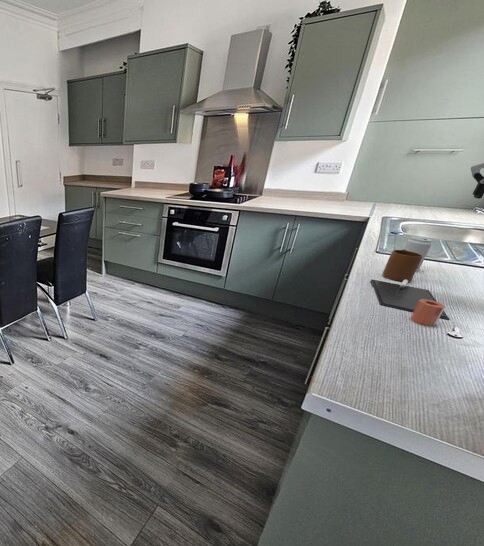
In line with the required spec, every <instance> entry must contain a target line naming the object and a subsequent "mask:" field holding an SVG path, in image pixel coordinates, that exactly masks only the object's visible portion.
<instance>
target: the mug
mask: <svg viewBox="0 0 484 546" xmlns="http://www.w3.org/2000/svg"><path fill="white" fill-rule="evenodd" d="M421 259H422V255H421V254H418V253H415V252H411V251H407V250H405V249H404V248H402V249H394V250H392V252H391V253H390V254H389V258H388V260H387V262H386V264H385V265H384V269H383V271H382V276H384V278H387V279H389V280H392V281H396V282H403V280H405V279H406V280H408V282H411V281H412V280H413V278H414V276H415V274H416V272H417V271H418V270H417V268H418V266H419V264H420V262H421Z"/></svg>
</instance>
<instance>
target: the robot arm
mask: <svg viewBox="0 0 484 546" xmlns="http://www.w3.org/2000/svg"><path fill="white" fill-rule="evenodd" d="M483 169H484V162H482V163H479V164H475V165H472V166H470V172H471V176H472V178H473V179H474V180H475V181H476V183H477V184H476V185H475V188H474V190H473V191H472V195H473V198H475V199H478V200H481V199H482V198H483V196H484V175H482V174H481V170H483Z"/></svg>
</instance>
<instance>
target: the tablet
mask: <svg viewBox="0 0 484 546" xmlns="http://www.w3.org/2000/svg"><path fill="white" fill-rule="evenodd" d="M370 284H371V287H372V288H373V290H374V294H375V295H376V299H377V302H378V304H379V306H381V307H386V308H390V309H394V310H395V309H396V310H399V311H403V312H404V311H405V312H409V313H413V311H414V309H415V307H416V305H417V303H418V301H419V300H420V299H427V300H432V301H436V302H438V301H437V300H436V298H435V297H434V295H433V294H432V292H431V291H430V290H429V289H425V288H419V287H415V286H409V285H406V286H405V287H404V288H401V287H400V285H401V284H399V283H393V282H388V281H383V280H377V279H372V278H371V279H370ZM439 319H441V320H446V321H450V319H451V318H450V317H449V316H448V314H447V313H446V312H445V309H444V310H443V312H442V314H441V316H440V317H439Z"/></svg>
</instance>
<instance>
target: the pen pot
mask: <svg viewBox="0 0 484 546" xmlns="http://www.w3.org/2000/svg"><path fill="white" fill-rule="evenodd" d="M436 301H437V300H436ZM436 301H432V300H427V299H420V300H419V301H418V303H417V305H416V307H415V309H414V311H413V312H411V315H410V317H409V319H410V320H411V321H413V322H415V323H416V324H419V325H423V326H426V327H427V326H429V327H434V326H435V325H436V324H437V323H438V321H439V319H440V318H439V317H440V316H441V314H442V312H443V310H444V311H445V309H446V305H445V304H443V303H441V302H439V301H437V302H436Z"/></svg>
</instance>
